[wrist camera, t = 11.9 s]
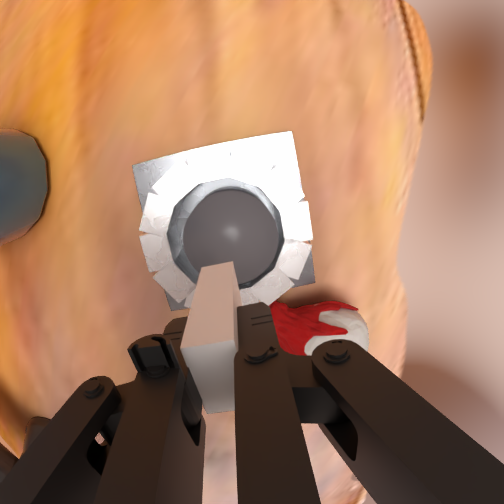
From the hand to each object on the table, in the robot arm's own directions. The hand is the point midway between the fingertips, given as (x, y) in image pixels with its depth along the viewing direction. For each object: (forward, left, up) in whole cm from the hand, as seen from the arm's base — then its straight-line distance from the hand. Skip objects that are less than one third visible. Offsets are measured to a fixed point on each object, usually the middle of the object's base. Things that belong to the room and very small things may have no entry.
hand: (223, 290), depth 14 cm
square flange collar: (0, 0, -17) cm, 17 cm away
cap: (0, 0, -16) cm, 16 cm away
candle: (+7, -14, -17) cm, 23 cm away
